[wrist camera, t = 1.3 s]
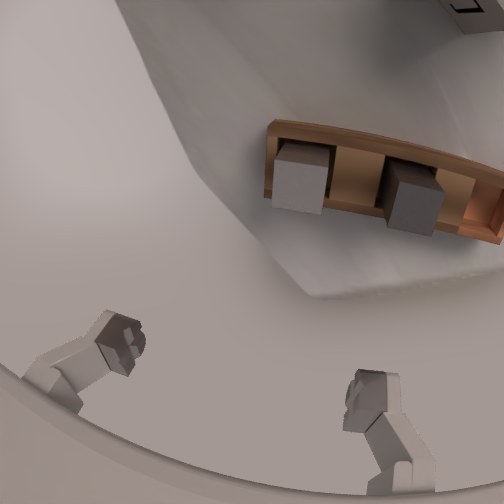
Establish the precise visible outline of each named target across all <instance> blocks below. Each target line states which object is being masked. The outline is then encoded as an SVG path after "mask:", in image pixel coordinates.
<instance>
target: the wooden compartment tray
mask: <svg viewBox="0 0 504 504" xmlns="http://www.w3.org/2000/svg"><path fill="white" fill-rule="evenodd" d="M287 138H289V139H296V140H304V141H311V142H318V143H324V144H330V150H329V167H328V174H327V181H326V187H325V194H324V200H323V206H322V207H326V208H332V209H338V210H343V211H349V212H354V213H360V214H365V215H370V216H375V217H380V218H385V216H384V212H383V208H382V204H381V201H380V197H379V193H378V190H379V186H380V181H381V177H382V172H383V168H384V163H385V158H386V155H388V156H392V157H397V158H401V159H405V160H409V161H413V162H417V163H421V164H425V166H426V167H427V168H428V169H429V171H430V172H431V173H432V175H433V176H434V177H435V179H436V180H437V182H438V183H439V184H440V186H441V187H442V188H443V190H444V191H445V193H446V194H445V197H444V200H443V203H442V206H441V209H440V212H439V215H438V218H437V221H436V224H435V227H434V229H437V230H441V231H445V232H450V233H454V234H458V235H462V236H466V237H470V238H474V239H478V240H482V241H486V242H490V243H494V244H497V245H500V243H501V241H502V239H503V236H504V172H502V171H499V170H496V169H494V168H491V167H488V166H485V165H483V164H480V163H477V162H474V161H471V160H468V159H465V158H462V157H459V156H456V155H452V154H449V153H446V152H442V151H439V150H435V149H432V148H428V147H425V146H421V145H417V144H413V143H409V142H405V141H401V140H397V139H392V138H388V137H384V136H379V135H374V134H369V133H364V132H359V131H354V130H348V129H343V128H337V127H331V126H324V125H318V124H310V123H303V122H295V121H287V120H277V119H275V120H274V121H273V122H272V123H271V124H270V125H269V126H268V133H267V151H266V169H265V187H264V198H270V199H272V190H273V176H274V162H275V158H276V157H277V155H278V153H279V152H280V150H281V148H282V147H283V145H284V143H285V142H286V140H287Z"/></svg>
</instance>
